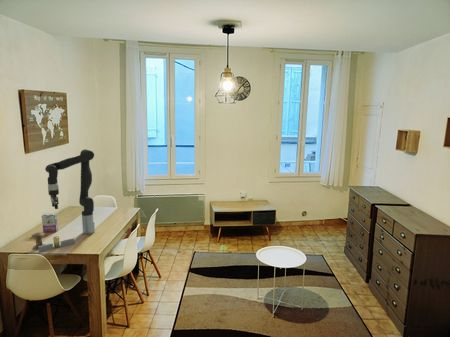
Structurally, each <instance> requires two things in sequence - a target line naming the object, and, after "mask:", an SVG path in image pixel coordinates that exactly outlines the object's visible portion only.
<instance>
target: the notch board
mask: <svg viewBox="0 0 450 337" xmlns="http://www.w3.org/2000/svg"><path fill="white" fill-rule="evenodd" d="M59 243H60V247H57V248H55V247H54V242H51V243H47V244H46V243H45V245H42V246H38V250H37V251H38V253H40V252H45V251H49V250H53V249H58V248H61V247H66V246H70V245H74V244H75V238H74V237H73V238H69V239H65V240H59Z"/></svg>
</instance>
